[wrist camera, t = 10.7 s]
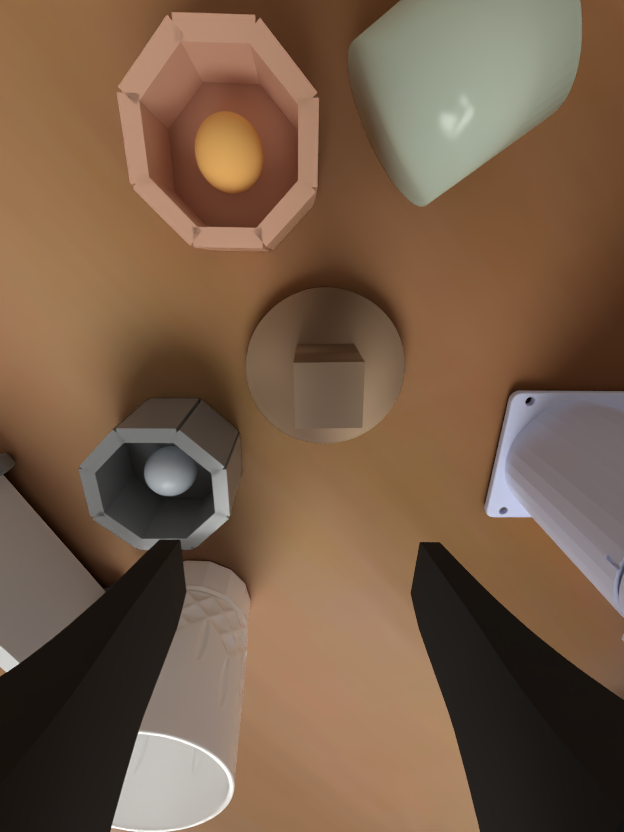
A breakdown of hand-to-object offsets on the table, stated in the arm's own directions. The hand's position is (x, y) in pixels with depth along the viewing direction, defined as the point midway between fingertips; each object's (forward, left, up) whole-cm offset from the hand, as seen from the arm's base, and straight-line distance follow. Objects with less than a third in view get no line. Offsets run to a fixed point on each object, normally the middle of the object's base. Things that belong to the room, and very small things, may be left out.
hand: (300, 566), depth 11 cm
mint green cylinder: (-5, -14, -10) cm, 18 cm away
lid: (-1, -3, -11) cm, 11 cm away
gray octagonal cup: (+7, +2, -10) cm, 13 cm away
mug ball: (+7, +2, -10) cm, 12 cm away
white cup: (+7, +13, -11) cm, 18 cm away
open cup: (+3, -12, -10) cm, 16 cm away
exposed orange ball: (+3, -12, -10) cm, 16 cm away
